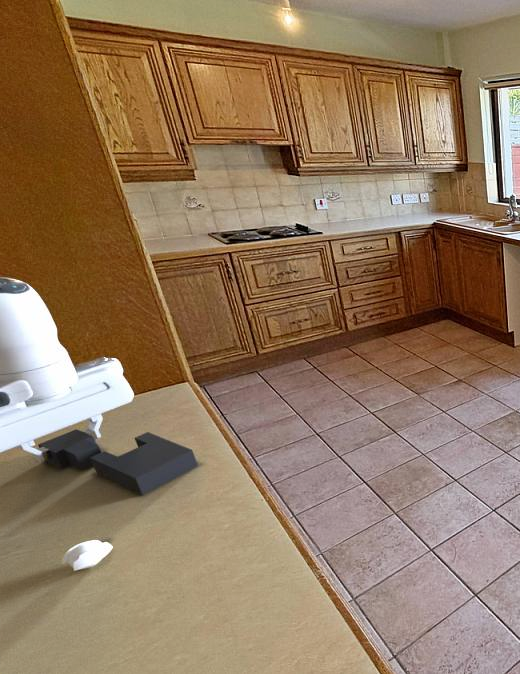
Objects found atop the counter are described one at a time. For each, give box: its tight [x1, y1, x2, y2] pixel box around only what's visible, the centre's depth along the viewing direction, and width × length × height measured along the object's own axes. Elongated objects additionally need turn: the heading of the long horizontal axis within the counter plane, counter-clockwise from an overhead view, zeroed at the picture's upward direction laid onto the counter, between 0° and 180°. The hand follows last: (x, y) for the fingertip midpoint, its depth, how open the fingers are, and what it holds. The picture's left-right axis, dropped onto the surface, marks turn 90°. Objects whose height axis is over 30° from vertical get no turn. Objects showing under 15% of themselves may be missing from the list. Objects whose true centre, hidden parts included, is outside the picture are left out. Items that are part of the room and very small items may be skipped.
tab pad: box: [37, 428, 102, 472], centre depth 80 cm, size 8×5×4 cm, turn 69°
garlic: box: [60, 539, 113, 572], centre depth 62 cm, size 5×3×5 cm
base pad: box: [90, 431, 199, 496], centre depth 79 cm, size 12×8×4 cm, turn 69°
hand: (69, 448), depth 81 cm, fingers closed on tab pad, 5 cm apart
